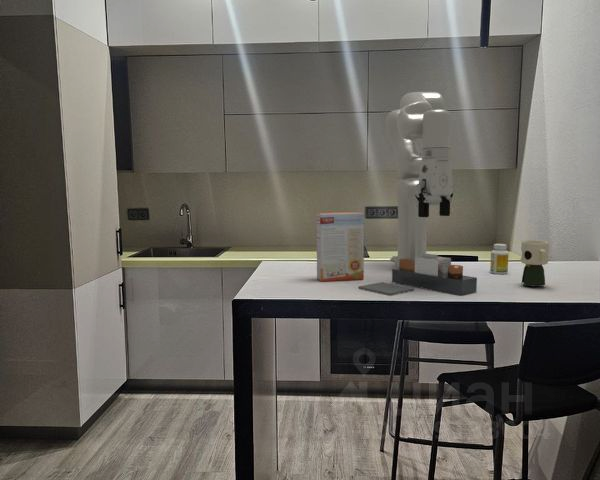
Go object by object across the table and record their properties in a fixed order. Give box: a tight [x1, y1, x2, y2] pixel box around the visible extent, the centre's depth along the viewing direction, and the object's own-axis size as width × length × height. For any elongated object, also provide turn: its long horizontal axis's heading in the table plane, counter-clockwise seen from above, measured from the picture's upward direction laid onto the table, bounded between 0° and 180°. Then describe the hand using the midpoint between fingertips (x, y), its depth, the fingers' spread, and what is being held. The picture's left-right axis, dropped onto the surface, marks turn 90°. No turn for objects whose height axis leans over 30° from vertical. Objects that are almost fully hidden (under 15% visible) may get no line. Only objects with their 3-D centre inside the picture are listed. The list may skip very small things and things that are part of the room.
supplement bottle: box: [489, 243, 509, 275], centre depth 165 cm, size 5×5×10 cm
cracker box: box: [315, 211, 365, 282], centre depth 155 cm, size 14×6×21 cm, turn 101°
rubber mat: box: [357, 281, 415, 296], centre depth 140 cm, size 12×10×1 cm
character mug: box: [520, 239, 550, 288], centre depth 143 cm, size 11×7×13 cm, turn 2°
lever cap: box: [415, 253, 452, 276], centre depth 143 cm, size 8×6×5 cm
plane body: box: [391, 258, 478, 296], centre depth 143 cm, size 24×7×7 cm, turn 39°
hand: (434, 216), depth 141 cm, fingers open, 9 cm apart
